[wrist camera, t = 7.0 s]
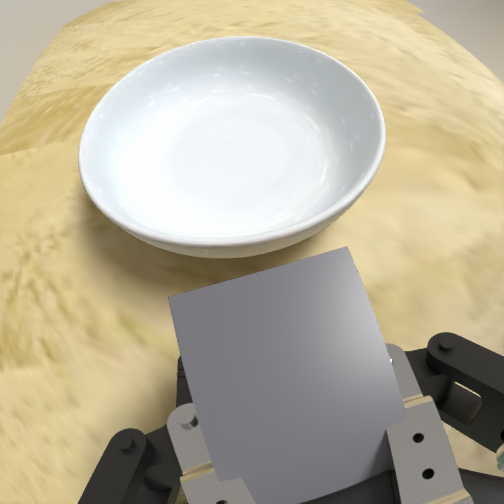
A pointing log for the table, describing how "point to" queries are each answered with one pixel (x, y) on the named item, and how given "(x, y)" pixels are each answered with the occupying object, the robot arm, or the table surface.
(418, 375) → the robot arm
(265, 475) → the gray rectangular block
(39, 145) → the table surface
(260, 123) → the serving bowl
